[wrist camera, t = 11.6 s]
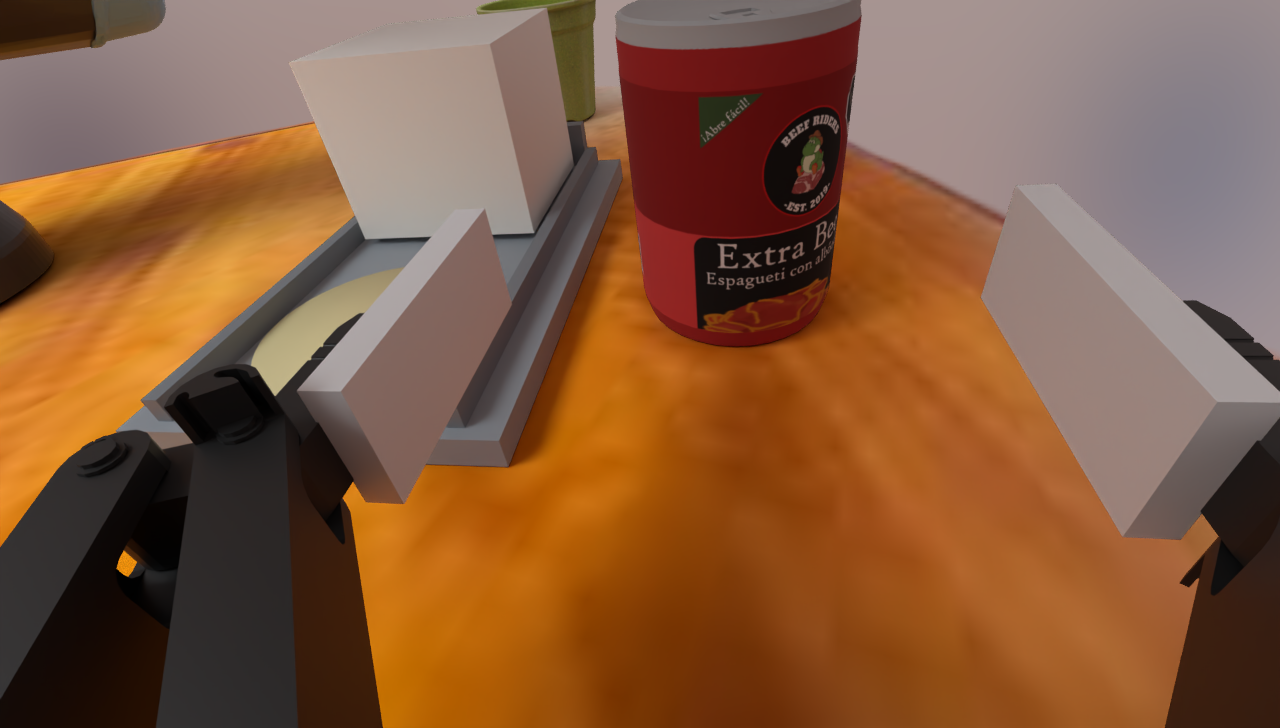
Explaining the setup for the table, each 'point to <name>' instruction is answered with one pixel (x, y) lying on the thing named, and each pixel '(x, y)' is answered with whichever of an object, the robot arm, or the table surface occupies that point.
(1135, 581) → the table surface
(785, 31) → the canned food
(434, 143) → the block
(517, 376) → the board
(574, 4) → the plant pot
